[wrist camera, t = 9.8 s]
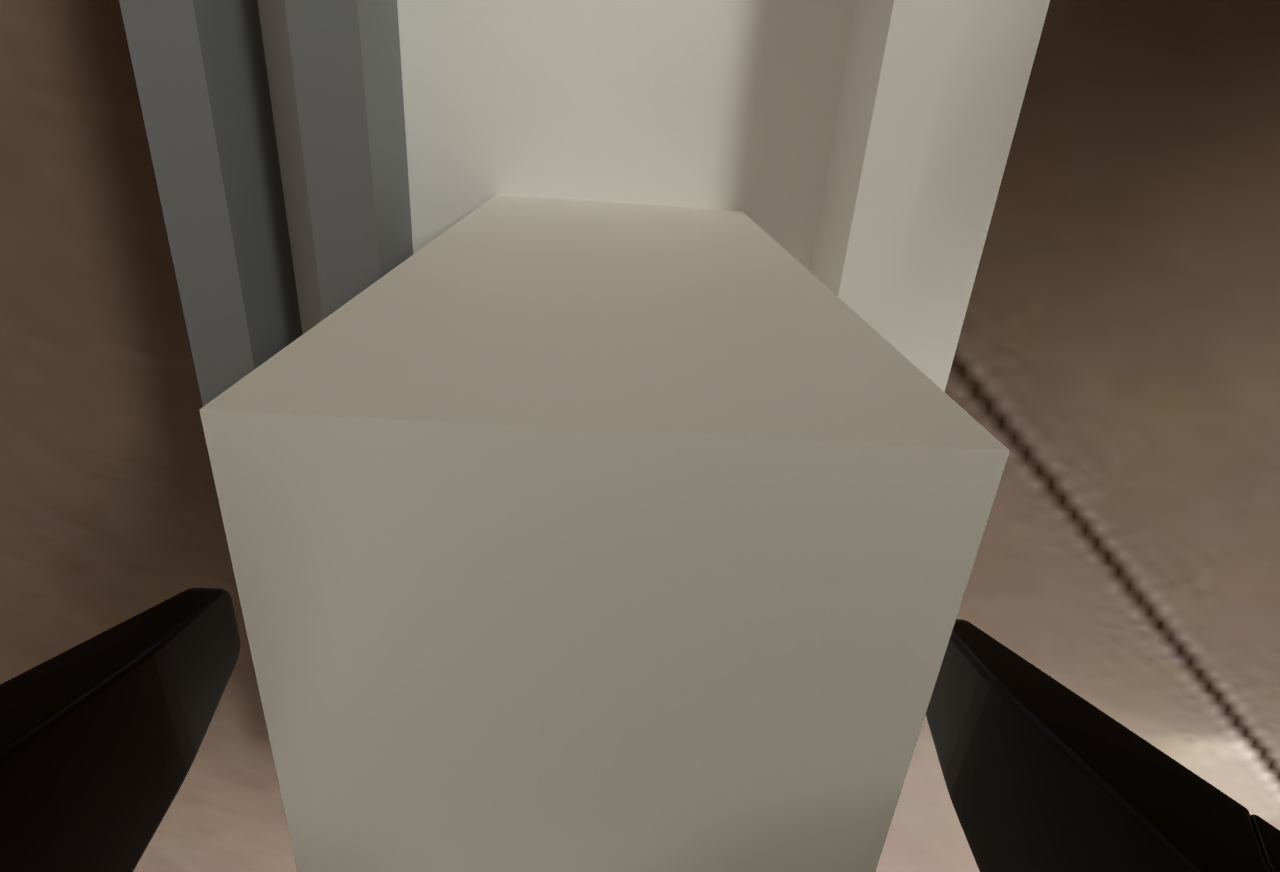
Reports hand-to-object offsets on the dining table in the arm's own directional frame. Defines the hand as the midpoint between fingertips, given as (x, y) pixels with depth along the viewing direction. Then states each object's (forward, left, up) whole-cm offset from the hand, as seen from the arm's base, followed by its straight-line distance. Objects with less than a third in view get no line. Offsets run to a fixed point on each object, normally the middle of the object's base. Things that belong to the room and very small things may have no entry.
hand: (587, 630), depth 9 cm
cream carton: (0, 0, -6) cm, 6 cm away
